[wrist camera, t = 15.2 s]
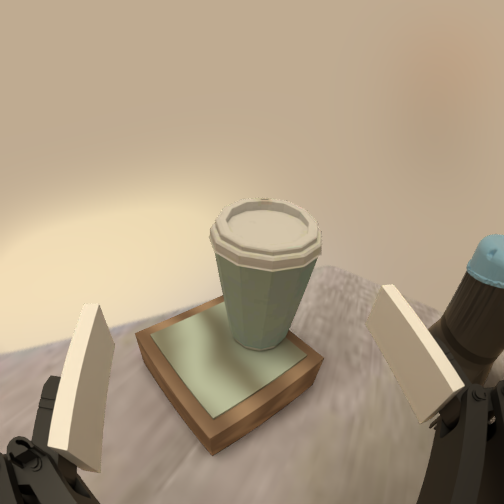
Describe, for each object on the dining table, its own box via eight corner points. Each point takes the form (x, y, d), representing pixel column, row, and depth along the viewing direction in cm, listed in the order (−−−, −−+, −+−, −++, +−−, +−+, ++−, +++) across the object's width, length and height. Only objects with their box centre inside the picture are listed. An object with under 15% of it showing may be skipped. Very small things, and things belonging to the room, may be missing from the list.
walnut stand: (236, 317, 44) (238, 286, 41) (312, 384, 34) (324, 355, 31) (144, 362, 35) (134, 331, 31) (212, 455, 25) (209, 437, 22)
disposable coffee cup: (306, 366, 29) (343, 249, 22) (207, 365, 29) (202, 243, 21) (292, 303, 38) (313, 198, 31) (213, 300, 38) (213, 192, 30)
